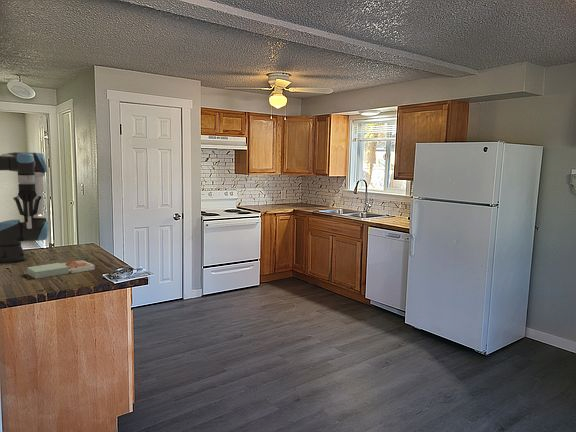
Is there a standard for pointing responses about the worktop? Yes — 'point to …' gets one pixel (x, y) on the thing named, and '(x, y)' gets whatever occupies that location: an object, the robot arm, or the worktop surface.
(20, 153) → the robot arm
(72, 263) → the tile near
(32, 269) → the board
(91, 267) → the tray
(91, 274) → the worktop surface
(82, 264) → the tile far
